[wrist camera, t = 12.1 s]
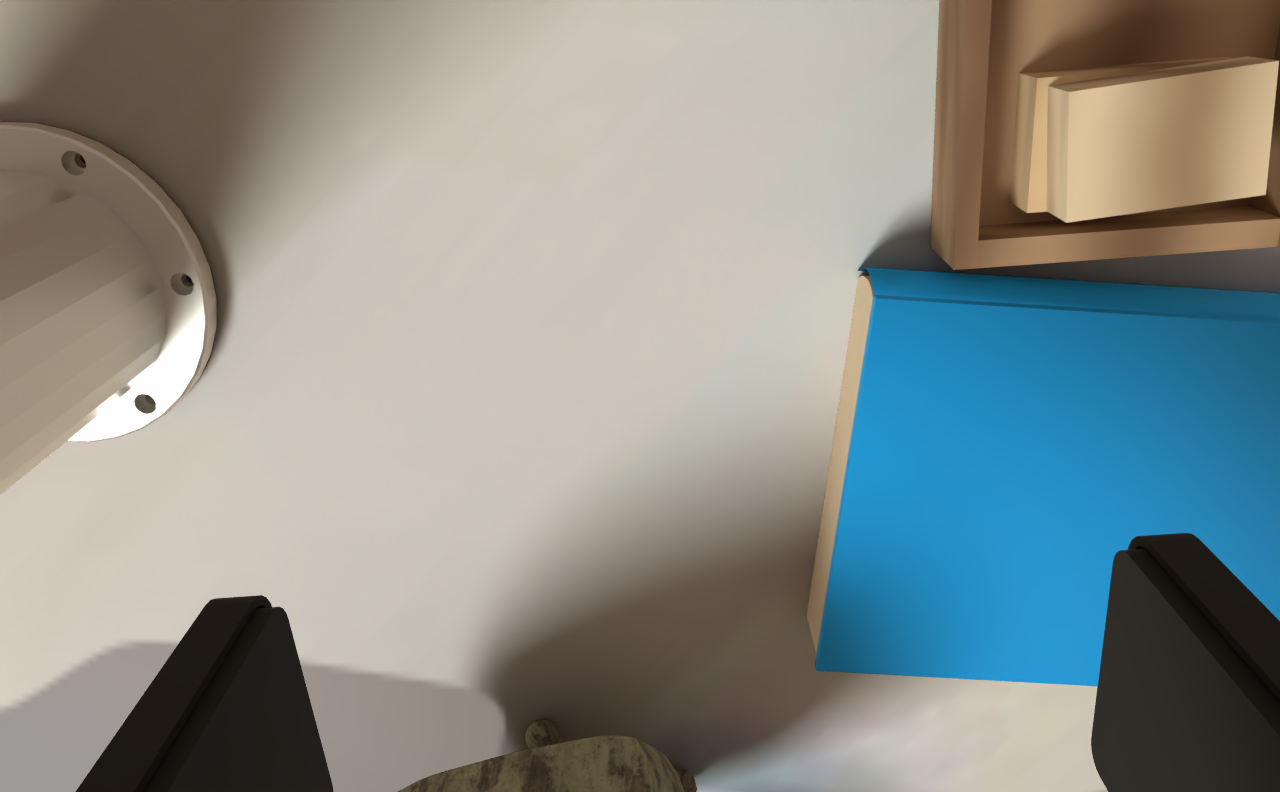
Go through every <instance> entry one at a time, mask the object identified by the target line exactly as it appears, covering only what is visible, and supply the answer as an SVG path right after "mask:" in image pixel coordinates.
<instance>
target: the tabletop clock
mask: <svg viewBox="0 0 1280 792" xmlns="http://www.w3.org/2000/svg"><path fill="white" fill-rule="evenodd" d="M559 739H560V736H559V733H558V730H557V728H556V726H555V725H554V723H552V722H550V721H547V720H538V721H535V722H533V723H532V724H531V725H530V726H529V727H528V730H527V732H526V734H525V741H526V744H527V746H528V750H523V751H518V752H513V753H510V754H506V755H502V756H499V757H495V758H491V759H488V760H484V761H481V762H477V763H474V764H470V765H466V766H463V767H459V768H455V769H451V770H448V771H444V772H441V773H438V774H435V775H432V776H429V777H427V778H424V779H422V780H419V781H417V782H415V783H413V784H411V785H410V786H408V787H406V788H404V789H402V790H400V791H398V792H696V791H697V787H696V783H695V780H694V777H693V776H691V775H690V774H689V773H688V772H687V771H680V770H675V769H674V767H673V766H672V764H671V763H670V761H669V760H668V758H667V757H666V755H665V754H664V753H663V752H661V751H659V750H657V749H655V748H653V747H652V746H650V745H648V744H646V743H644V742H642V741H640V740H638V739H636V738H634V737H626V736H616V735H610V736H597V737H590V738H584V739H579V740H574V741H569V742H564V743H559Z"/></svg>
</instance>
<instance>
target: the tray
mask: <svg viewBox="0 0 1280 792" xmlns="http://www.w3.org/2000/svg"><path fill="white" fill-rule="evenodd" d="M1246 56H1248V57H1255V58H1262V59H1270V60H1277V61H1279V66H1278V76H1277V87H1276V97H1275V107H1274V117H1273V127H1272V137H1271V147H1270V158H1269V168H1268V178H1267V188H1266V195H1261V196H1254V197H1247V198H1240V199H1232V200H1225V201H1218V202H1211V203H1204V204H1197V205H1190V206H1183V207H1175V208H1168V209H1161V210H1154V211H1147V212H1140V213H1133V214H1126V215H1118V216H1111V217H1104V218H1097V219H1090V220H1083V221H1076V222H1068V223H1066V222H1064V221H1062V220H1061V219H1059V218H1057V217H1056V216H1054V215H1052V214H1051V213H1049V212H1036V213H1026V212H1025V211H1023V210H1021V209H1020V208H1018V207H1017V206H1015V205H1014V204H1012V203H1010V192H1011V178H1012V163H1013V149H1014V134H1015V120H1016V105H1017V91H1018V76H1019V73H1027V72H1039V71H1052V70H1065V69H1077V68H1090V67H1103V66H1115V65H1128V64H1141V63H1153V62H1166V61H1179V60H1191V59H1204V58H1217V57H1229V58H1239V57H1246ZM930 247H931V248H932V249H933V250H934V251H935V252H936V253H937V254H938V255H939V256H940V257H941V258H942V259H943V260H944V261H945V262H946V263H947V264H948V265H949V266H950V267H951V268H952V269H953V270H961V269H975V268H989V267H1003V266H1016V265H1030V264H1044V263H1058V262H1072V261H1086V260H1100V259H1114V258H1128V257H1142V256H1156V255H1170V254H1184V253H1198V252H1212V251H1226V250H1240V249H1254V248H1268V247H1280V0H940V4H939V30H938V56H937V82H936V109H935V135H934V161H933V187H932V213H931V240H930Z"/></svg>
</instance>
